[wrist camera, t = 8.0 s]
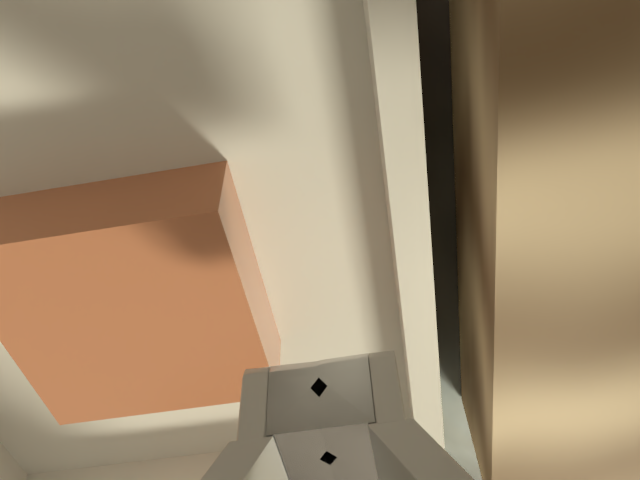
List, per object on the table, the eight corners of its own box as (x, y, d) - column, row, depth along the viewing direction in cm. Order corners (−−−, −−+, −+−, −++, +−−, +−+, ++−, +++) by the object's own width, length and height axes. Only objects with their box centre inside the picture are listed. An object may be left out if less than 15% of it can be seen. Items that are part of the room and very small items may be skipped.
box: (-407, -57, 12) (-552, -21, 10) (382, -216, 10) (402, -211, 8) (24, 469, 23) (-3, 536, 21) (433, 420, 21) (447, 486, 19)
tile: (217, 211, 12) (227, 160, 14) (-62, 254, 13) (-22, 200, 14) (279, 397, 16) (280, 339, 18) (59, 425, 16) (80, 367, 18)
